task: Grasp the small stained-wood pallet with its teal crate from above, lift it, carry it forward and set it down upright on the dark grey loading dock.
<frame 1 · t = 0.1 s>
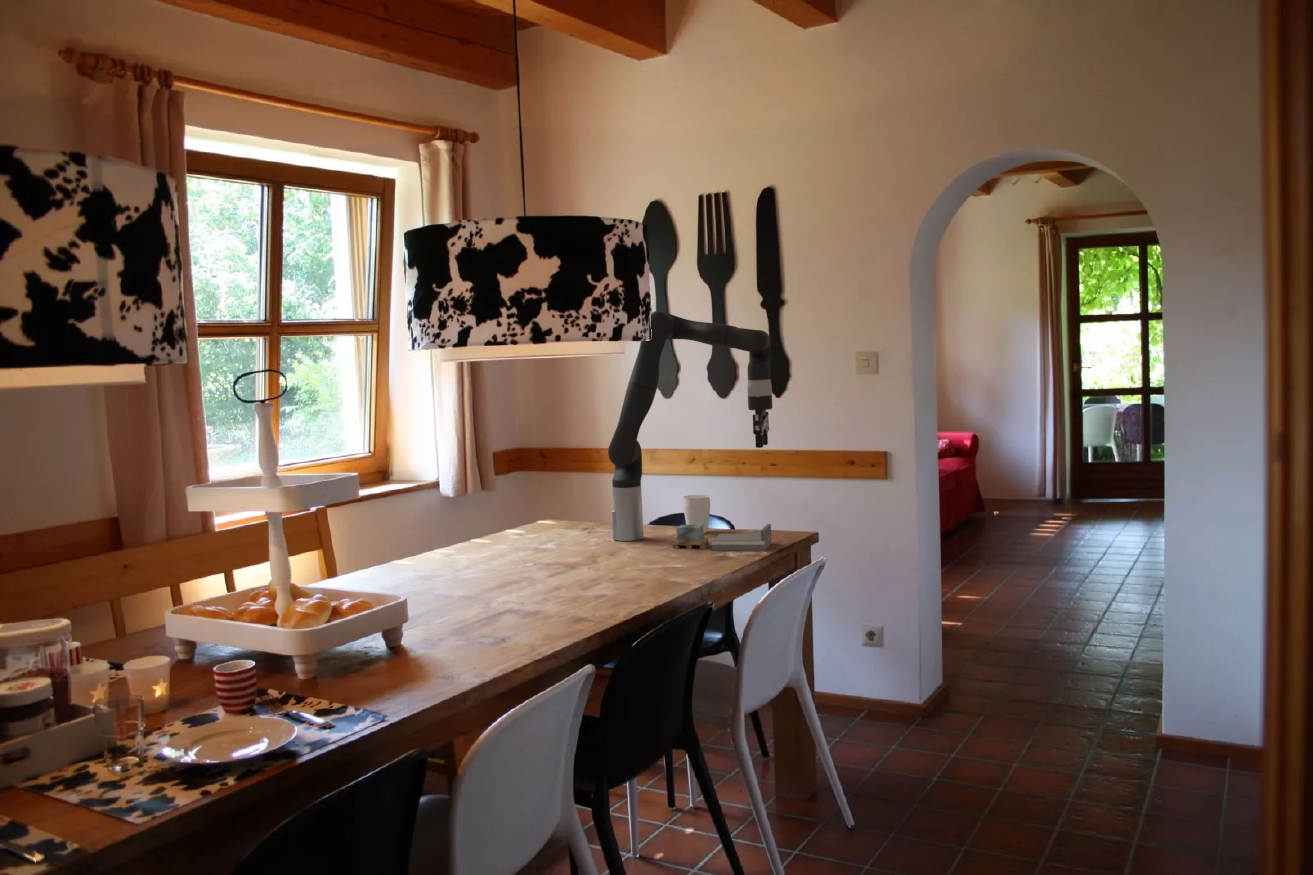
hand: (761, 446, 330), 29 cm above the table, fingers open, 8 cm apart
dock: (742, 546, 320), on the table
pallet: (690, 546, 325), on the table
cup: (697, 533, 350), on the table
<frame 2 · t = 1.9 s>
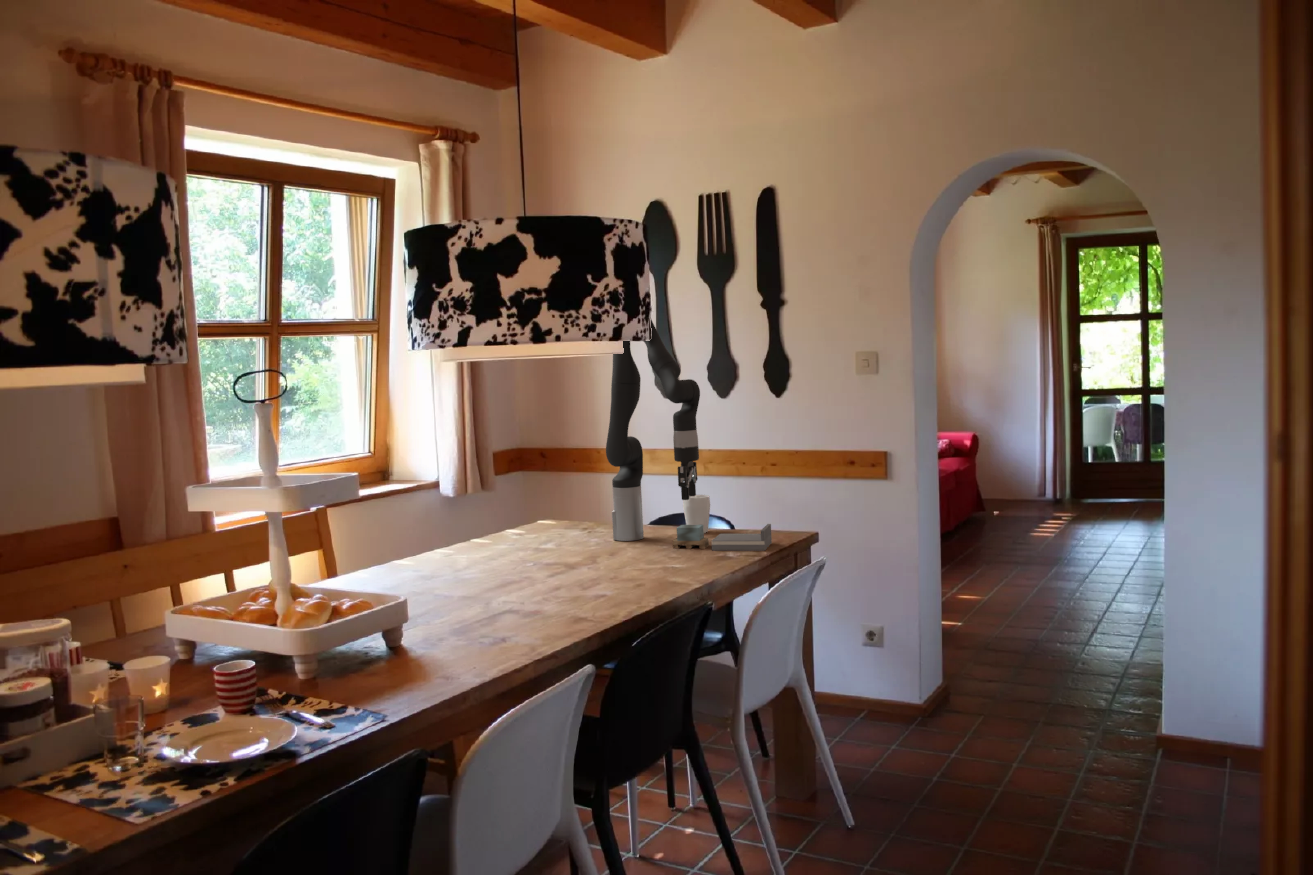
hand: (688, 497, 323), 15 cm above the table, fingers open, 8 cm apart
nothing on the table moved.
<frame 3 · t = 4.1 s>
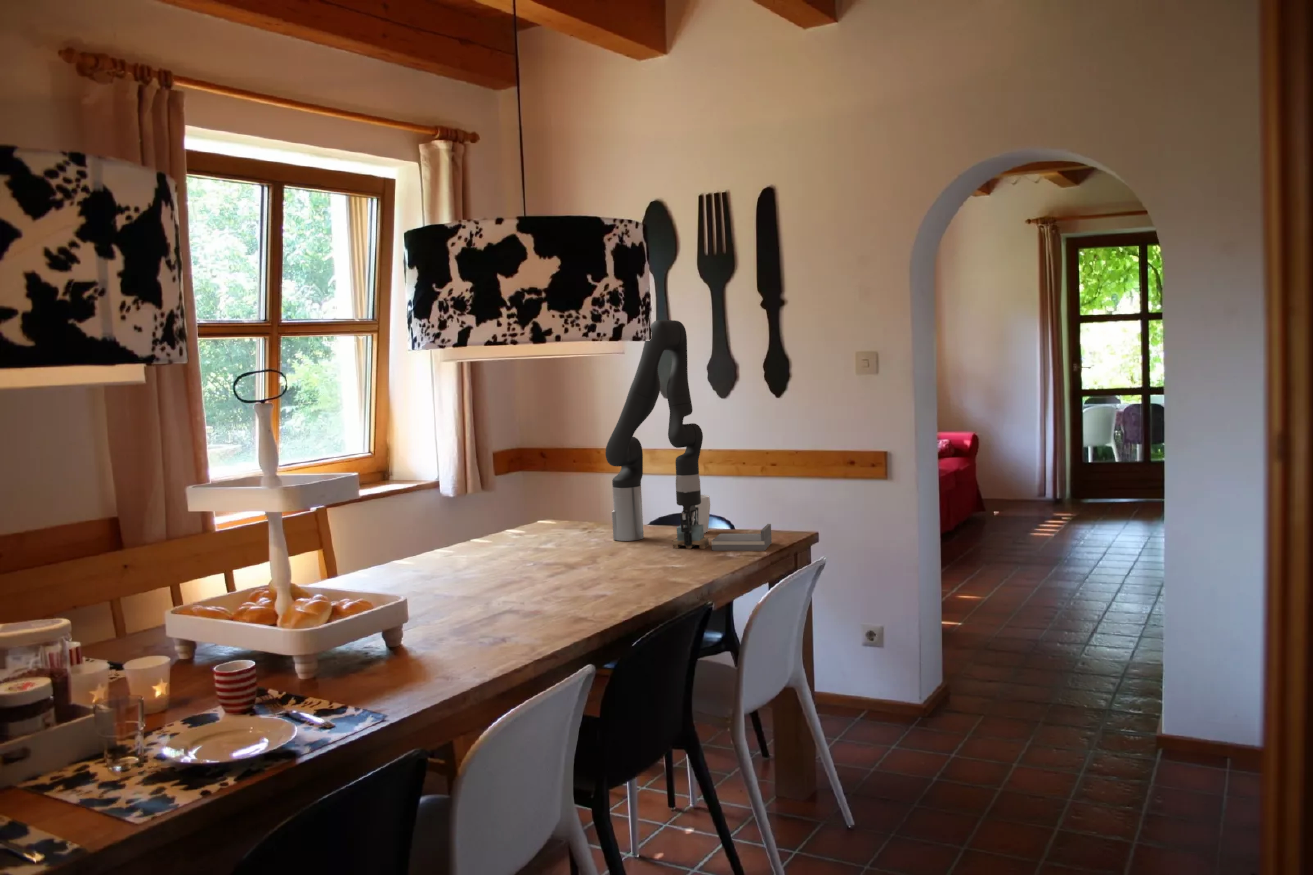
hand: (690, 543, 324), 1 cm above the table, fingers closed on pallet, 5 cm apart
pallet: (691, 546, 325), on the table, touching gripper
everything else where it was.
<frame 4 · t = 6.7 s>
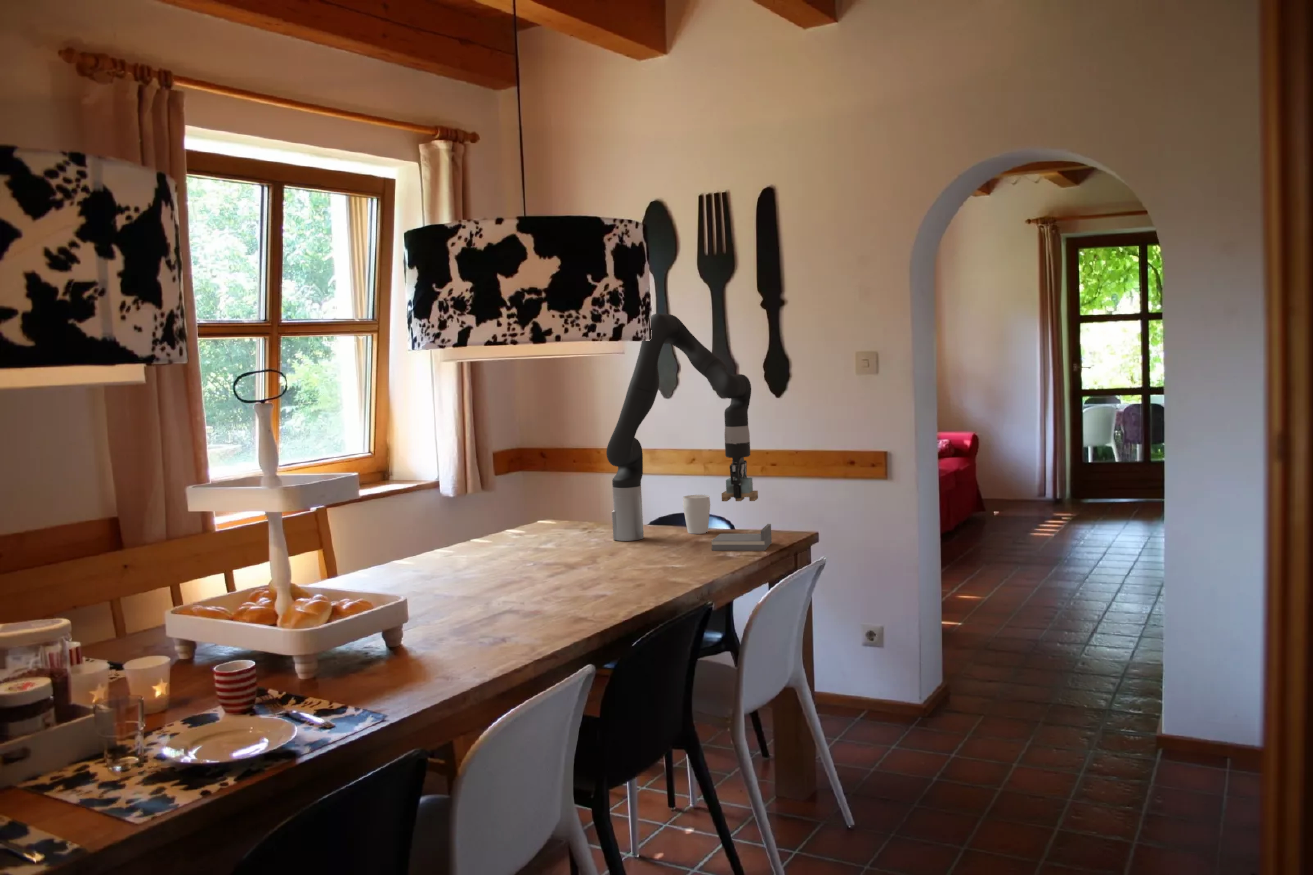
hand: (739, 496, 319), 15 cm above the table, fingers closed on pallet, 5 cm apart
pallet: (740, 499, 319), point 14 cm above the table, touching gripper
everything else where it was.
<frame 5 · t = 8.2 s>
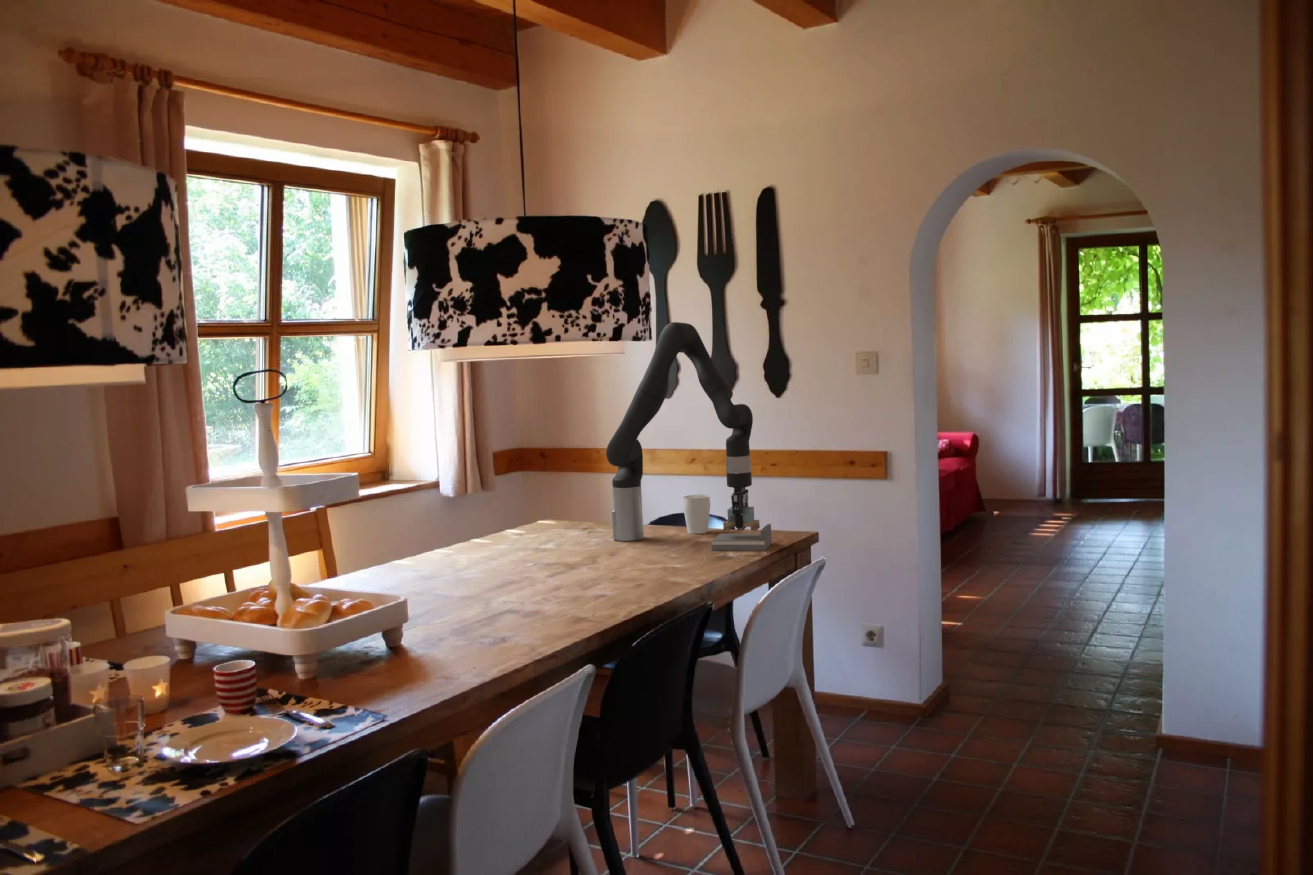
hand: (741, 525, 320), 6 cm above the table, fingers closed on pallet, 5 cm apart
pallet: (741, 529, 320), point 5 cm above the table, touching gripper
everything else where it was.
when the fingers open (5 cm above the table, at t = 9.4 s): pallet stays where it is, resting on dock.
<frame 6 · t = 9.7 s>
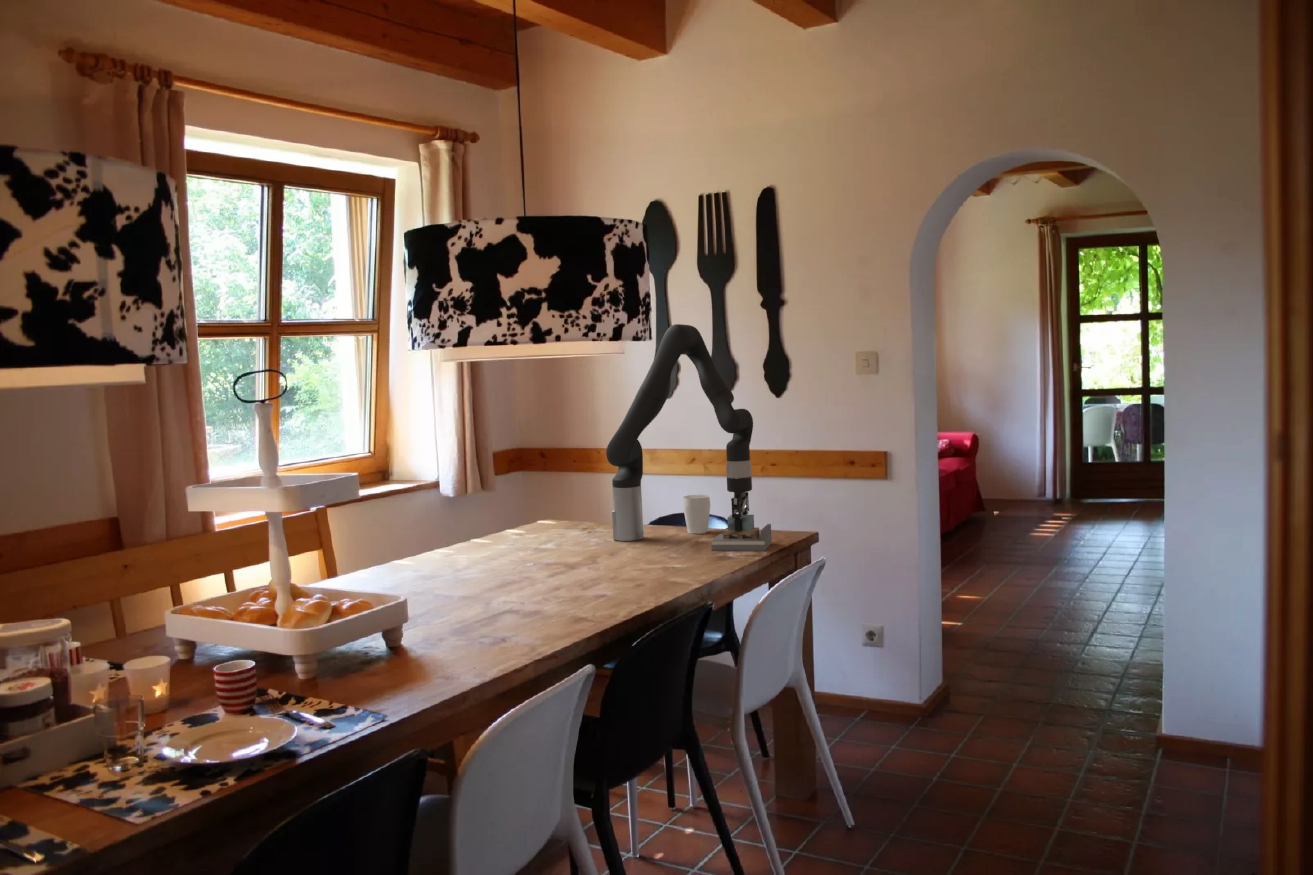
hand: (741, 529, 320), 5 cm above the table, fingers open, 7 cm apart
pallet: (741, 537, 320), point 3 cm above the table, touching dock
everything else where it was.
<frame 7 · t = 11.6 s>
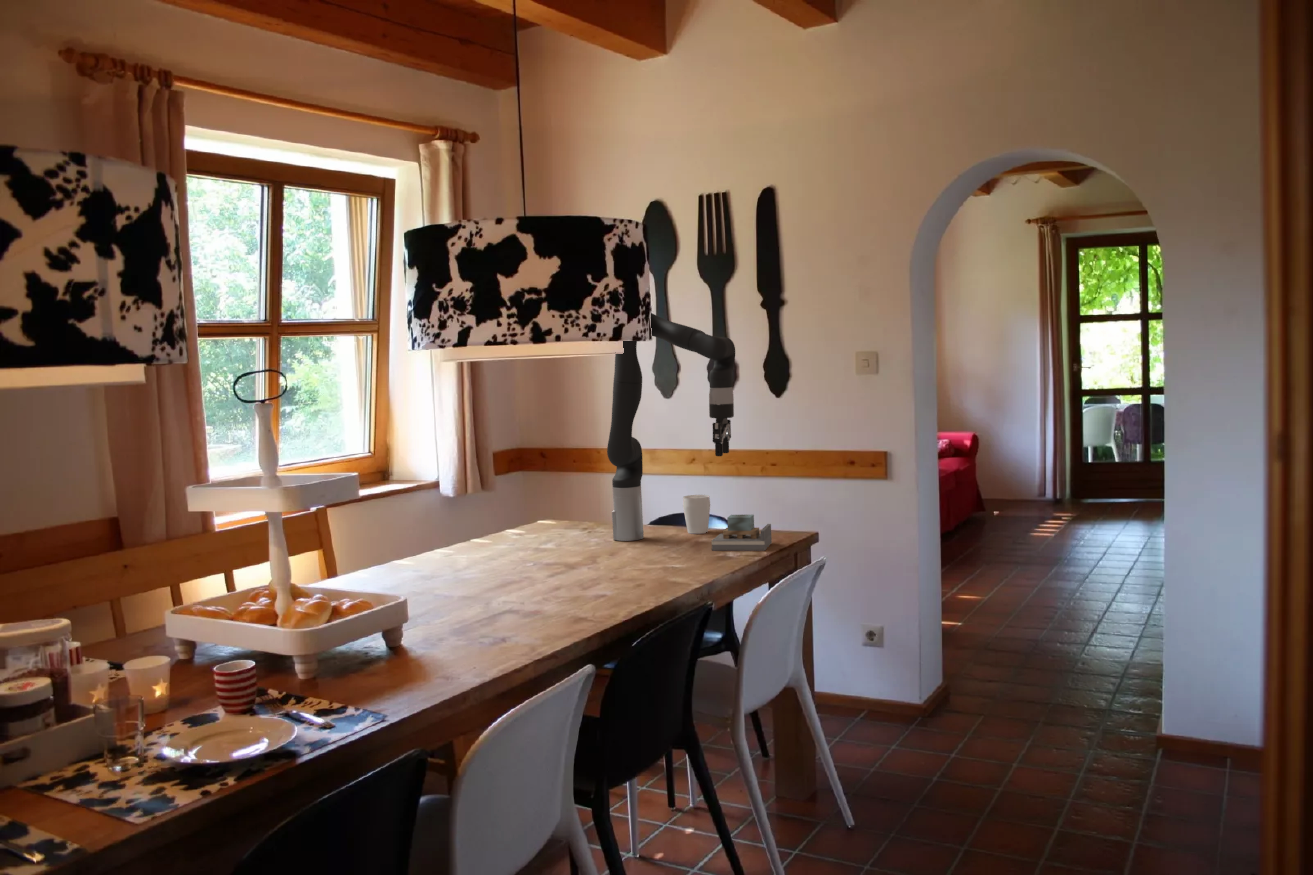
hand: (722, 454, 327), 27 cm above the table, fingers open, 8 cm apart
nothing on the table moved.
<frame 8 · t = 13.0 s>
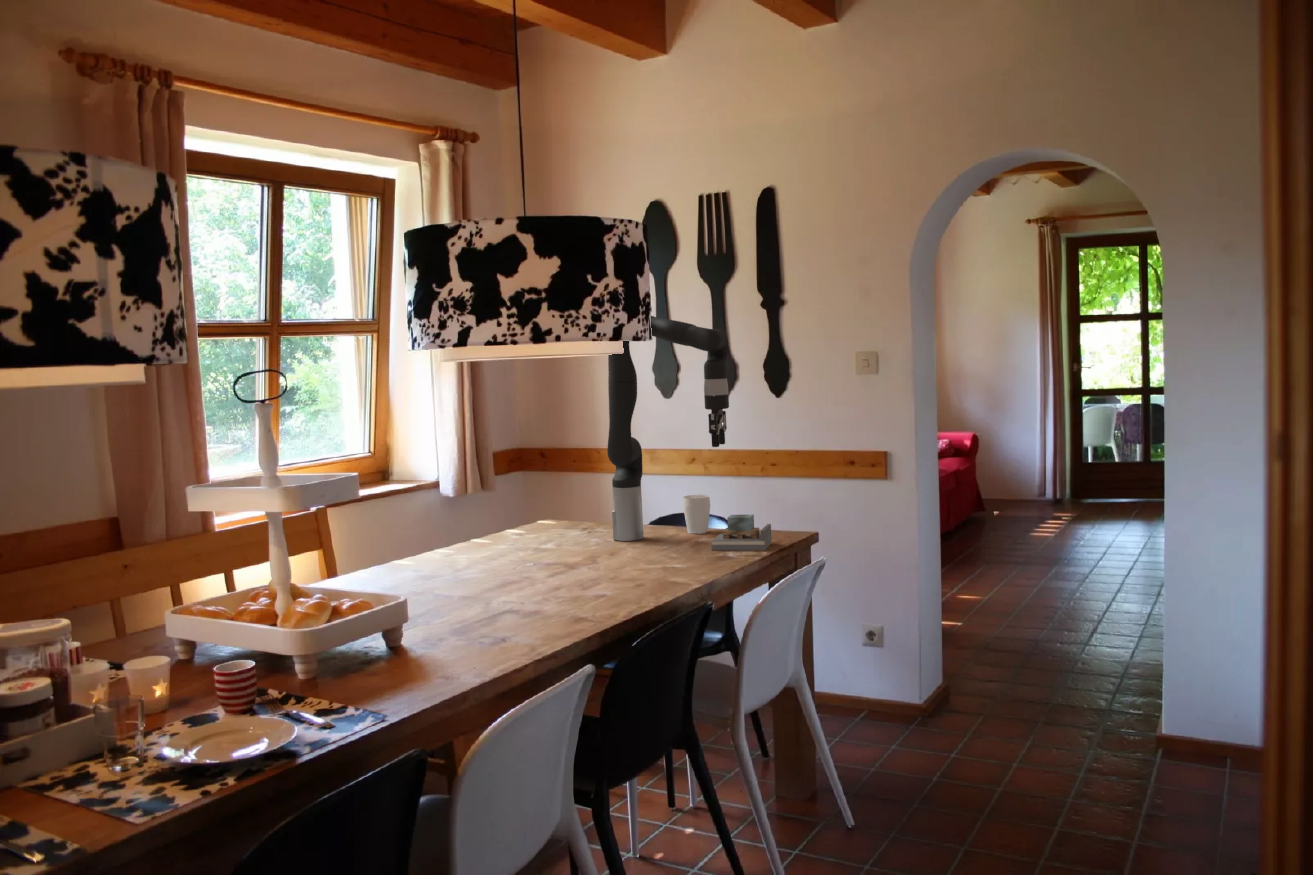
hand: (718, 445, 329), 30 cm above the table, fingers open, 8 cm apart
nothing on the table moved.
at the end: pallet inside the target area on the dock (0.1 cm from its centre), point 3.0 cm above the dock's base; pallet tilted 0°; the gripper is holding nothing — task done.
